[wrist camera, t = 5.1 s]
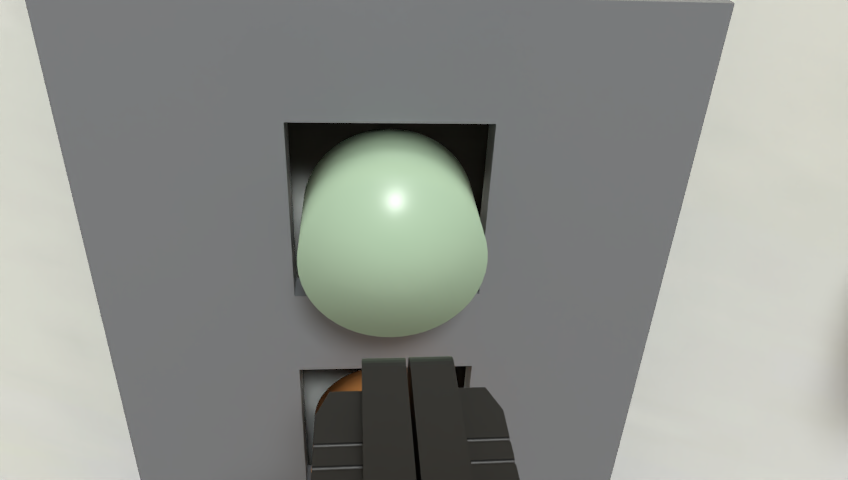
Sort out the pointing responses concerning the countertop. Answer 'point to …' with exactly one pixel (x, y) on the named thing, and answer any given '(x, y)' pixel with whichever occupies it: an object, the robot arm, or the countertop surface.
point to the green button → (390, 235)
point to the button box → (273, 213)
